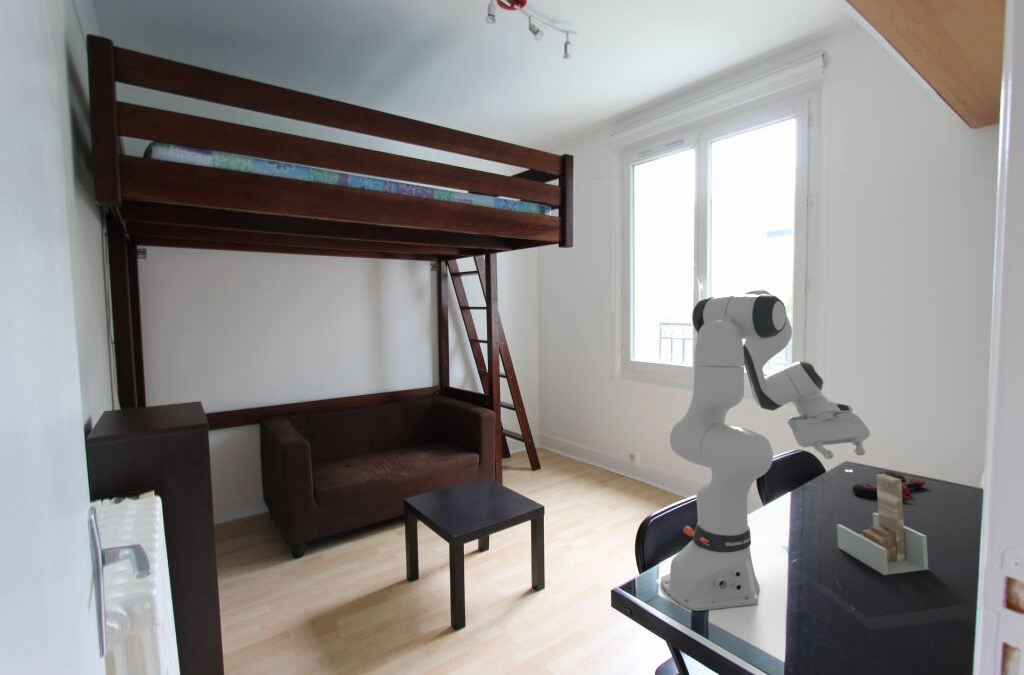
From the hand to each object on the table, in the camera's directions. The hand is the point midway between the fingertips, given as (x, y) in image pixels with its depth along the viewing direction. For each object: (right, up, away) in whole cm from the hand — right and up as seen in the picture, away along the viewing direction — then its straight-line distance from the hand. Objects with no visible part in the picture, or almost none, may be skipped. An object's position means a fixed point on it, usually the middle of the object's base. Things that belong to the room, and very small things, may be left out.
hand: (846, 456), depth 132 cm
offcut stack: (-2, -22, -13) cm, 26 cm away
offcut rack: (0, -24, -13) cm, 27 cm away
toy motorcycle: (+37, -20, +30) cm, 51 cm away
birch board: (+3, -22, -13) cm, 25 cm away
